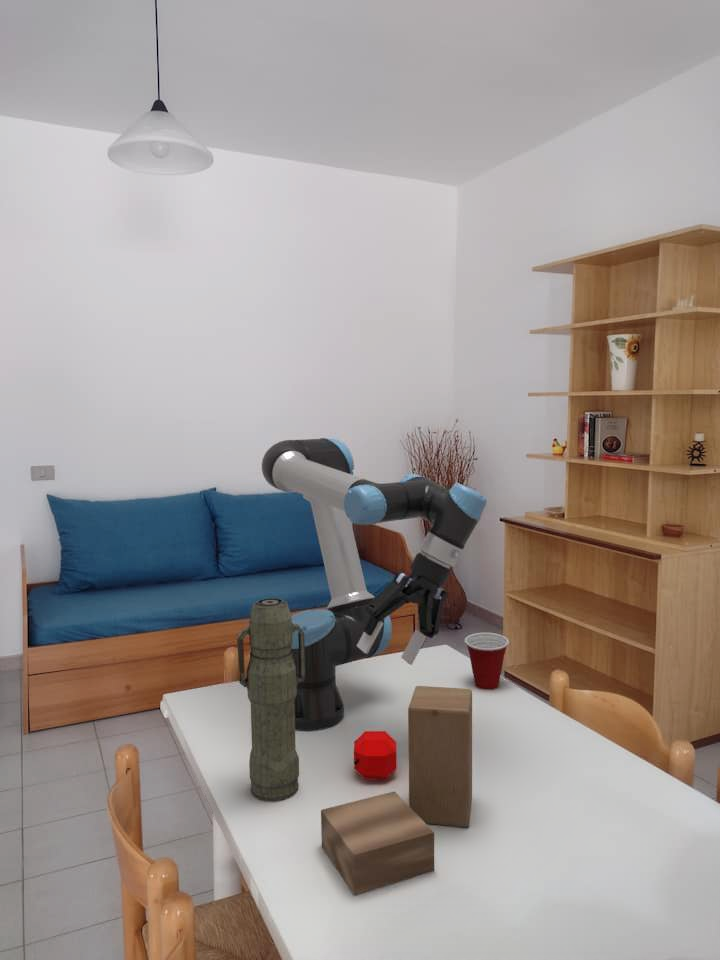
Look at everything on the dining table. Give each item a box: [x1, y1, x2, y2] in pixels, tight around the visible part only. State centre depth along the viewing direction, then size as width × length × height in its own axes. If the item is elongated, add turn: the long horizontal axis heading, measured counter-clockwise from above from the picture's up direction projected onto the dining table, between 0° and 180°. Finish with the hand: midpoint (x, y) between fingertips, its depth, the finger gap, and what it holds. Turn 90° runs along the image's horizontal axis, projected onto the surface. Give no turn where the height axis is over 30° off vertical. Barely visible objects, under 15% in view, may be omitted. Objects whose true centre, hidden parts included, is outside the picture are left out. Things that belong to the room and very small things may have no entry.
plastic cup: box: [464, 632, 510, 691], centre depth 180 cm, size 11×11×12 cm
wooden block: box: [407, 685, 473, 828], centre depth 123 cm, size 10×10×20 cm
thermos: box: [236, 597, 305, 803], centre depth 130 cm, size 9×12×35 cm
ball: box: [353, 730, 398, 780], centre depth 136 cm, size 8×8×8 cm
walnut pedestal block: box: [320, 790, 435, 896], centre depth 111 cm, size 13×13×6 cm
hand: (384, 655), depth 141 cm, fingers open, 13 cm apart
